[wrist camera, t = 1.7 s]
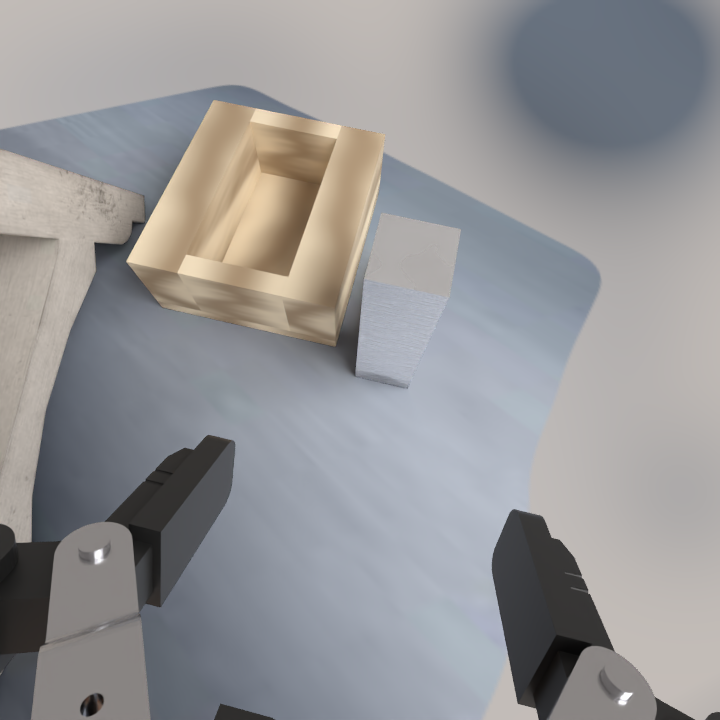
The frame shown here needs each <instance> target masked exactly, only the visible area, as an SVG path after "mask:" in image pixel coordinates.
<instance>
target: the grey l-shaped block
mask: <svg viewBox="0 0 720 720" xmlns="http://www.w3.org/2000/svg"><path fill="white" fill-rule="evenodd" d="M460 232H461V229H457V228H452V227H447V226H442V225H438V224H433V223H428V222H423V221H419V220H414V219H409V218H404V217H400V216H395V215H390V214H385V213H381V217H380V221H379V224H378V228H377V232H376V236H375V239H374V243H373V247H372V251H371V254H370V258H369V262H368V265H367V269H366V273H365V277H364V284H363V295H362V306H361V317H360V328H359V339H358V350H357V362H356V373H355V377H359V378H363V379H368V380H372V381H376V382H381V383H385V384H389V385H394V386H398V387H402V388H407V389H408V386H409V384H410V382H411V380H412V378H413V376H414V373H415V371H416V369H417V367H418V365H419V363H420V360H421V358H422V356H423V354H424V352H425V350H426V347H427V345H428V343H429V341H430V339H431V337H432V334H433V332H434V330H435V328H436V326H437V323H438V321H439V319H440V317H441V315H442V313H443V310H444V308H445V306H446V304H447V302H448V300H449V297H450V291H451V285H452V279H453V273H454V267H455V262H456V256H457V250H458V244H459V238H460Z"/></svg>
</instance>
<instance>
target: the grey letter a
mask: <svg viewBox="0 0 720 720" xmlns="http://www.w3.org/2000/svg"><path fill="white" fill-rule="evenodd" d="M132 222H139V223H144V222H145V204H144V196H143V195H140V194H137V193H134V192H131V191H128V190H125V189H122V188H119V187H116V186H113V185H109V184H106V183H103V182H100V181H97V180H94V179H91V178H88V177H85V176H82V175H79V174H76V173H73V172H70V171H67V170H64V169H61V168H58V167H55V166H52V165H48V164H45V163H42V162H39V161H36V160H33V159H30V158H27V157H24V156H21V155H18V154H15V153H12V152H9V151H6V150H3V149H0V524H4V525H6V526H8V527H10V528H11V529H12V530H13V532H14V533H15V539H16V543H26V542H31V538H32V494H33V488H34V481H35V475H36V469H37V463H38V457H39V450H40V444H41V438H42V432H43V425H44V419H45V413H46V408H47V405H48V402H49V398H50V395H51V392H52V389H53V385H54V382H55V379H56V376H57V372H58V369H59V366H60V362H61V359H62V356H63V353H64V349H65V346H66V343H67V340H68V336H69V333H70V330H71V328H72V325H73V323H74V321H75V319H76V316H77V314H78V312H79V309H80V307H81V305H82V302H83V300H84V298H85V296H86V293H87V291H88V289H89V286H90V284H91V282H92V280H93V277H94V275H95V273H96V260H95V247H94V243H106V244H121V245H122V244H124V243H125V242H127V240H128V239H129V237H130V235H131V230H132ZM1 673H2V672H1ZM1 673H0V675H1Z"/></svg>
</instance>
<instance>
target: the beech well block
mask: <svg viewBox="0 0 720 720" xmlns="http://www.w3.org/2000/svg"><path fill="white" fill-rule="evenodd" d="M384 140H385V134H381V133H375V132H370V131H365V130H361V129H356V128H351V127H346V126H341V125H335V124H331V123H326V122H321V121H316V120H311V119H306V118H301V117H296V116H291V115H286V114H281V113H276V112H271V111H266V110H261V109H256V108H251V107H246V106H241V105H236V104H231V103H226V102H221V101H216V100H214V101H213V103H212V104H211V106H210V108H209V110H208V112H207V114H206V116H205V117H204V119H203V121H202V123H201V125H200V127H199V128H198V130H197V132H196V134H195V136H194V138H193V139H192V141H191V143H190V145H189V147H188V149H187V150H186V152H185V154H184V156H183V158H182V160H181V162H180V163H179V165H178V167H177V169H176V171H175V173H174V174H173V176H172V178H171V180H170V182H169V184H168V185H167V187H166V189H165V191H164V193H163V195H162V197H161V198H160V200H159V202H158V204H157V206H156V208H155V209H154V211H153V213H152V215H151V217H150V219H149V220H148V222H147V224H146V226H145V228H144V230H143V231H142V233H141V235H140V237H139V239H138V241H137V243H136V244H135V246H134V248H133V250H132V252H131V254H130V255H129V257H128V259H127V261H126V262H127V263H128V265H129V266H130V267H131V268H132V270H133V271H134V272H135V273H136V275H137V276H138V277H139V279H140V280H141V281H142V282H143V284H144V285H145V286H146V287H147V289H148V290H149V291H150V292H151V294H152V295H153V296H154V297H155V299H156V300H157V301H158V302H159V304H160V305H161V306H162V308H167V309H171V310H175V311H180V312H184V313H189V314H193V315H197V316H202V317H206V318H211V319H215V320H219V321H224V322H228V323H233V324H237V325H241V326H246V327H250V328H255V329H259V330H263V331H268V332H272V333H277V334H281V335H285V336H290V337H294V338H299V339H303V340H307V341H312V342H316V343H321V344H325V345H329V346H334V347H336V344H337V341H338V337H339V333H340V330H341V326H342V323H343V319H344V316H345V312H346V308H347V305H348V301H349V298H350V294H351V290H352V287H353V283H354V280H355V276H356V272H357V269H358V265H359V262H360V258H361V254H362V251H363V247H364V244H365V240H366V236H367V233H368V229H369V226H370V222H371V218H372V215H373V211H374V208H375V204H376V200H377V197H378V193H379V185H380V176H381V167H382V158H383V148H384Z"/></svg>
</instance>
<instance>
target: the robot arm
mask: <svg viewBox="0 0 720 720" xmlns="http://www.w3.org/2000/svg"><path fill="white" fill-rule="evenodd" d="M234 455H235V442H234V441H232V440H228V439H224V438H220V437H216V436H211V435H207V436H206V437H205V438H204V439H203V440H202V441H201V443H200V444H199V445H198V446H197V447H196V448H195V449H194V450H192V449H188V448H183V449H182V450H180V451H178V452H176V453H174V454H172V455H170V456H168V457H167V458H166V459H165V460H164V461H163V462H162V463H161V464H160V465H159V466H158V467H157V468H156V470H155V472H154V471H153V472H152V473H151V474H150V475H149V476H148V477H147V479H146V481H145V482H143V483H142V484H141V485H140V486H139V487H138V488H137V489H136V490H135V491H134V492H133V493H132V494H131V495H130V496H129V497H128V498H127V499H126V500H125V501H124V502H123V503H122V504H121V505H120V506H119V508H118V509H117V510H116V511H115V512H114V513H113V514H112V515H111V516H110V517H109V518H108V519H107V520H106V521H105V522H99V523H93V524H90V525H86V526H84V527H81V528H79V529H77V530H75V531H74V532H72V533H70V534H69V535H68V536H67V537H65V538H64V539H63V540H62V541H56V542H26V543H16V539H15V533H14V532H13V530H12V529H11V528H10V527H8V526H6V525H4V524H0V673H1V672H2V671H3V669H4V668H5V667H6V666H7V664H8V663H9V662H10V661H11V659H12V658H13V657H14V656H15V655H16V653H26V652H37V651H39V655H38V662H37V670H36V680H35V689H34V698H33V707H32V716H31V720H150V709H149V699H148V688H147V677H146V667H145V656H144V645H143V634H142V624H141V616H140V614H139V612H140V611H141V609H142V608H143V606H144V605H145V603H146V604H150V605H154V606H157V607H161V606H162V604H163V603H164V601H165V600H166V598H167V596H168V595H169V593H170V592H171V590H172V588H173V587H174V585H175V584H176V582H177V580H178V579H179V577H180V576H181V574H182V572H183V571H184V569H185V568H186V566H187V565H188V563H189V561H190V560H191V558H192V557H193V555H194V553H195V552H196V550H197V549H198V547H199V545H200V544H201V542H202V541H203V539H204V537H205V536H206V534H207V533H208V531H209V530H210V528H211V526H212V525H213V523H214V522H215V520H216V518H217V517H218V515H219V514H220V512H221V510H222V509H223V507H224V506H225V504H226V502H227V499H228V497H229V494H230V491H231V486H232V478H233V467H234ZM492 574H493V579H494V584H495V590H496V595H497V600H498V605H499V610H500V615H501V620H502V625H503V630H504V636H505V641H506V646H507V651H508V656H509V661H510V666H511V671H512V676H513V681H514V686H515V691H516V697H517V702H518V704H521V705H525V706H529V707H533V708H536V709H537V713H538V718H539V720H695V719H693V718H691V717H689V716H687V715H686V714H684V713H682V712H680V711H678V710H677V709H675V708H673V707H671V706H669V705H668V704H666V703H664V702H662V701H661V700H659V699H657V698H656V697H654V694H653V692H652V690H651V688H650V686H649V685H648V683H647V681H646V680H645V678H644V677H643V676H642V675H641V673H640V672H639V671H638V670H637V669H636V668H635V667H634V666H633V665H632V664H631V663H630V662H629V661H627V660H626V659H625V658H623V657H622V656H620V655H619V654H617V653H616V652H615V651H614V649H613V646H612V644H611V642H610V639H609V637H608V635H607V633H606V630H605V628H604V626H603V623H602V621H601V619H600V616H599V614H598V612H597V610H596V607H595V605H594V602H593V600H592V598H591V595H590V594H588V589H587V586H586V584H585V581H584V579H582V575H581V572H580V570H579V568H578V565H577V563H576V561H575V558H574V557H573V555H572V554H571V553H570V552H569V551H568V549H567V548H566V547H565V546H564V545H563V543H562V542H561V541H560V540H558V539H554V538H551V535H550V533H549V530H548V528H547V525H546V523H545V520H544V519H543V517H542V516H540V515H535V514H532V513H527V512H523V511H519V510H515V509H514V510H512V511H511V512H510V514H509V516H508V518H507V521H506V523H505V525H504V528H503V530H502V533H501V535H500V537H499V540H498V542H497V544H496V547H495V549H494V553H493V558H492ZM214 720H274V719H273V718H271V717H267V716H263V715H260V714H256V713H252V712H249V711H245V710H241V709H238V708H234V707H230V706H227V705H223V704H220V706H219V709H218V711H217V714H216V716H215V719H214ZM705 720H720V712H715V713H712V714H710V715H709V716H708V717H707V718H706V719H705Z"/></svg>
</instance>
